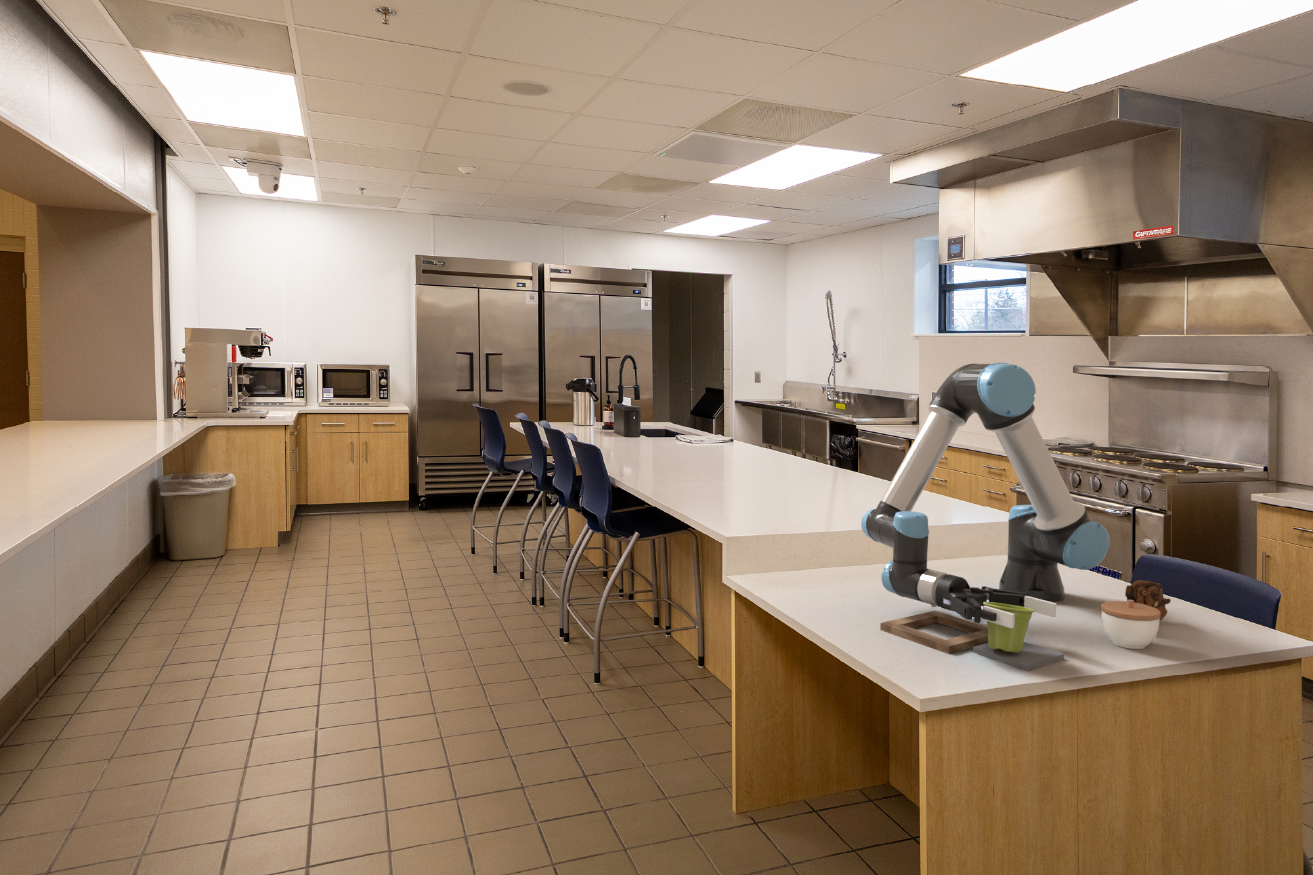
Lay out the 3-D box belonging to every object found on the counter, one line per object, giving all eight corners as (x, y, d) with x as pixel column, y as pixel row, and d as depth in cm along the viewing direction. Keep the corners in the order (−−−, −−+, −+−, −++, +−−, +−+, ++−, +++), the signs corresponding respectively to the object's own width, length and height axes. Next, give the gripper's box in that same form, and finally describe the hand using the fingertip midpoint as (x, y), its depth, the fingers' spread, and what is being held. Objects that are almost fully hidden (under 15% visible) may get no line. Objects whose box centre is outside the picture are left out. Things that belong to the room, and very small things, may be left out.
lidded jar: (1170, 653, 164) (1172, 607, 164) (1116, 652, 165) (1119, 607, 164) (1139, 636, 175) (1141, 593, 174) (1089, 635, 175) (1091, 593, 174)
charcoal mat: (1009, 641, 171) (1009, 637, 171) (1063, 658, 161) (1064, 653, 161) (972, 652, 165) (973, 647, 165) (1027, 670, 155) (1027, 665, 154)
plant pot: (970, 642, 166) (974, 599, 166) (1014, 647, 167) (1018, 604, 167) (993, 651, 157) (998, 606, 157) (1040, 657, 157) (1044, 612, 158)
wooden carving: (1135, 634, 176) (1137, 589, 175) (1114, 628, 180) (1116, 584, 179) (1174, 622, 185) (1176, 579, 184) (1152, 617, 189) (1155, 574, 188)
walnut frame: (934, 616, 188) (934, 610, 188) (1004, 638, 173) (1004, 631, 173) (880, 629, 179) (880, 622, 179) (948, 653, 164) (948, 646, 164)
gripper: (980, 599, 184) (1070, 624, 166) (905, 616, 171) (994, 645, 153) (981, 566, 184) (1072, 588, 166) (906, 581, 170) (995, 606, 152)
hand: (1034, 615), depth 159 cm, fingers open, 13 cm apart
